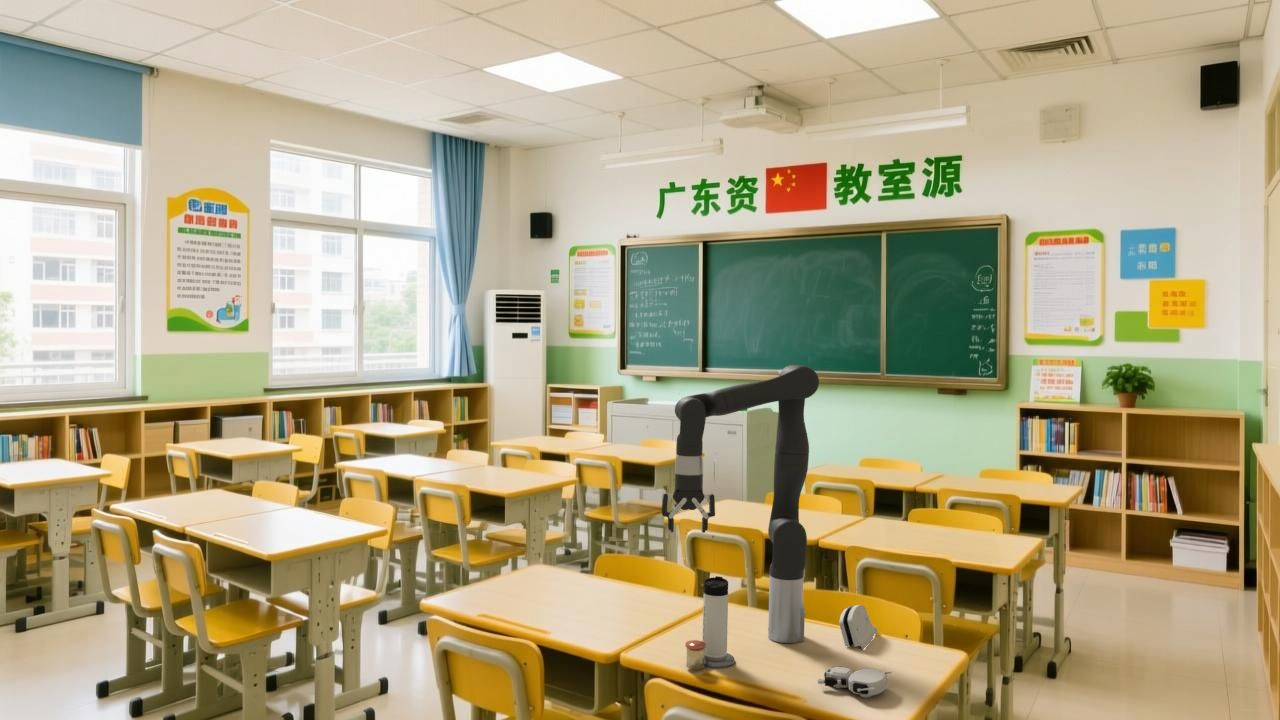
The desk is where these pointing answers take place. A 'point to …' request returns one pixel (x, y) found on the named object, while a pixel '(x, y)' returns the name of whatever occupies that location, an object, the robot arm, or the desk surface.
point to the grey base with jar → (703, 657)
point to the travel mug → (715, 618)
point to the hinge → (856, 626)
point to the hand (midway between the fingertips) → (687, 531)
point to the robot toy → (857, 680)
